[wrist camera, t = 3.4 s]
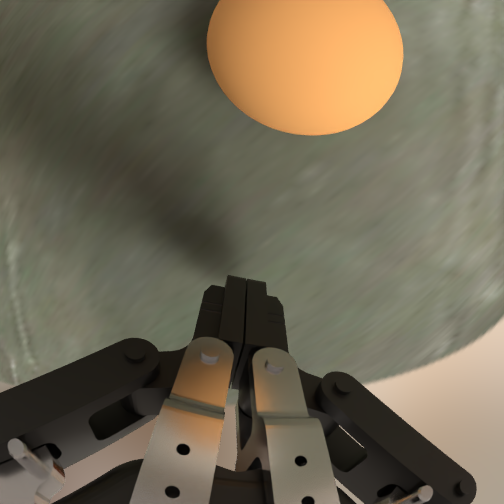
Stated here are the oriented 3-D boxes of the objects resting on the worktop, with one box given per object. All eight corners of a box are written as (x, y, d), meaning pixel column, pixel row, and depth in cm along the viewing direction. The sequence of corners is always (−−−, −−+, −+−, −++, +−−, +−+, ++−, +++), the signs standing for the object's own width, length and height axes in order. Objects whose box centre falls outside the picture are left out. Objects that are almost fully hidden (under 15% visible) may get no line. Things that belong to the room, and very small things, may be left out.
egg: (205, 113, 10) (160, 115, 5) (236, -11, 7) (224, -88, 3) (345, 146, 10) (414, 178, 5) (373, 26, 8) (450, -15, 3)
